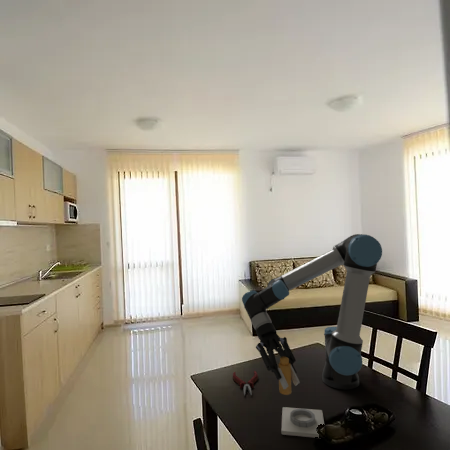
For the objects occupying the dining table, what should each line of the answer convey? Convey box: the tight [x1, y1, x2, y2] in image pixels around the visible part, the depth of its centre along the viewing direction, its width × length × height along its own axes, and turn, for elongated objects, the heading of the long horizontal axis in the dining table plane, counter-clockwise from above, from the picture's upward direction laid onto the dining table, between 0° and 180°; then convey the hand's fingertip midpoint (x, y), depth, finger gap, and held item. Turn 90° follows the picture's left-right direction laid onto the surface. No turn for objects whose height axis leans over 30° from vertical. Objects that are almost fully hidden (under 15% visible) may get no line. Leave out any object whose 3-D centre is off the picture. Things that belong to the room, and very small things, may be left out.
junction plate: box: [281, 406, 325, 439], centre depth 109 cm, size 14×14×3 cm
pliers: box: [232, 370, 259, 397], centre depth 137 cm, size 12×20×3 cm, turn 0°
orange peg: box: [277, 356, 292, 396], centre depth 115 cm, size 4×4×12 cm
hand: (291, 385), depth 112 cm, fingers closed on orange peg, 4 cm apart
